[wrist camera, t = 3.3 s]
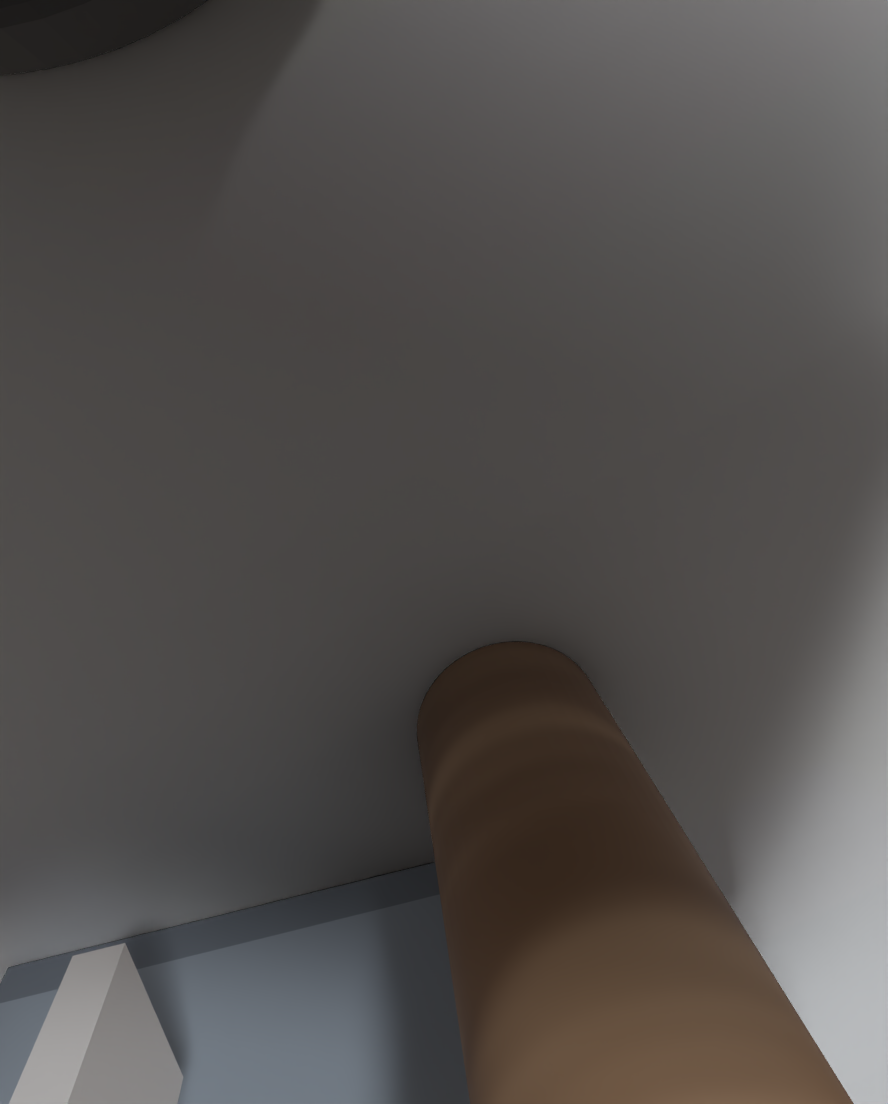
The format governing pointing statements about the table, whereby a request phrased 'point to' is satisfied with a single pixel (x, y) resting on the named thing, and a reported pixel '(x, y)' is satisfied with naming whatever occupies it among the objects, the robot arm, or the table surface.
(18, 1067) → the socket block
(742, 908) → the table surface
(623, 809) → the walnut dowel
